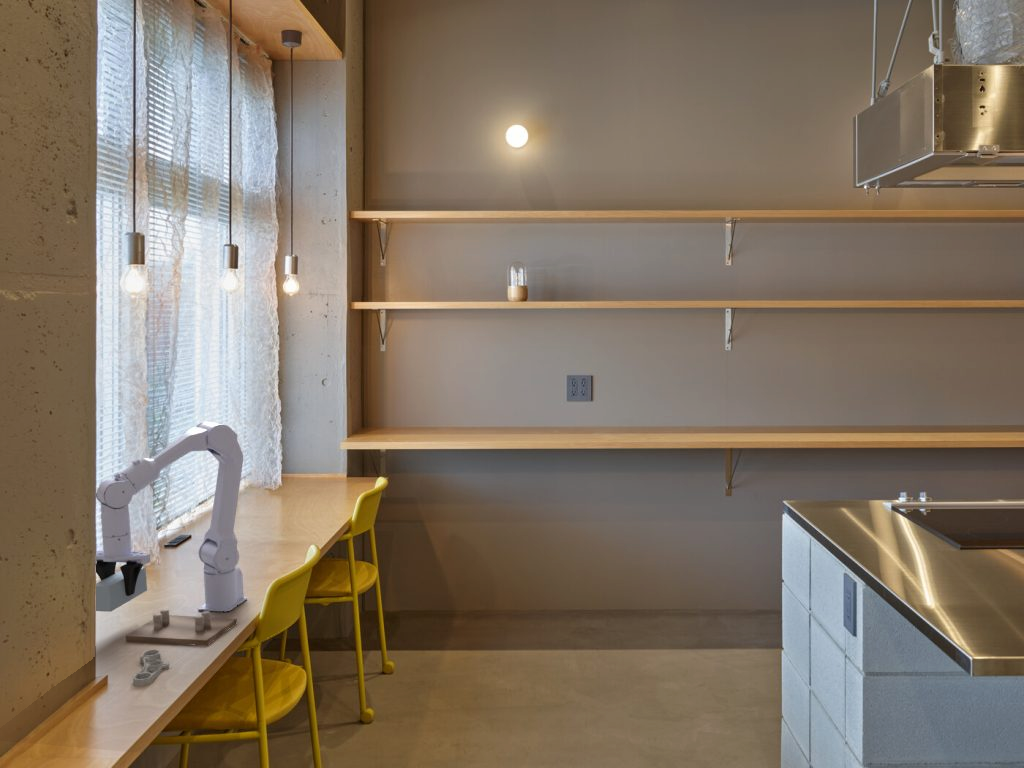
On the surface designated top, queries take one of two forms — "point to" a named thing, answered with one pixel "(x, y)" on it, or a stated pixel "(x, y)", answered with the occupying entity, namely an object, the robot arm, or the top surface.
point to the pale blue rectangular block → (117, 591)
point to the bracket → (149, 667)
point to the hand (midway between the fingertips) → (120, 594)
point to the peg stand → (181, 629)
